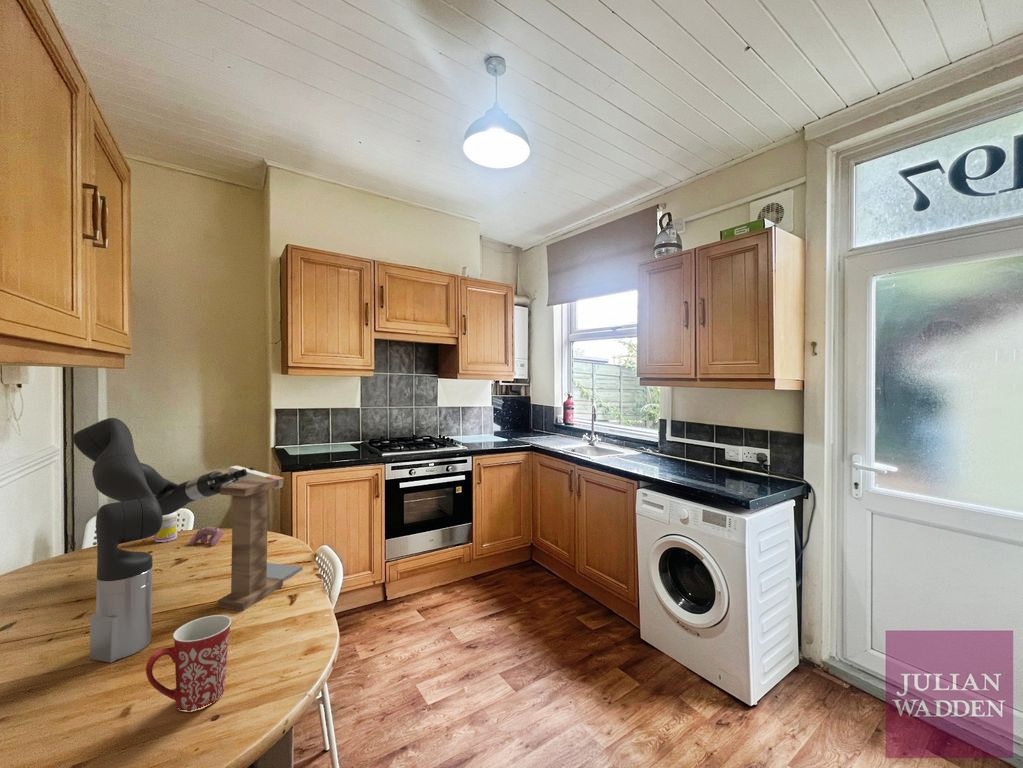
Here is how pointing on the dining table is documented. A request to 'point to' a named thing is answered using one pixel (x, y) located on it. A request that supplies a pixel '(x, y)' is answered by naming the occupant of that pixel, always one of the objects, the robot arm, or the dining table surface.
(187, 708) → the mug
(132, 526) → the robot arm
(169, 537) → the supplement bottle
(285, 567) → the board
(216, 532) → the video game controller
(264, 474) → the block
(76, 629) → the dining table surface
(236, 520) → the stand
